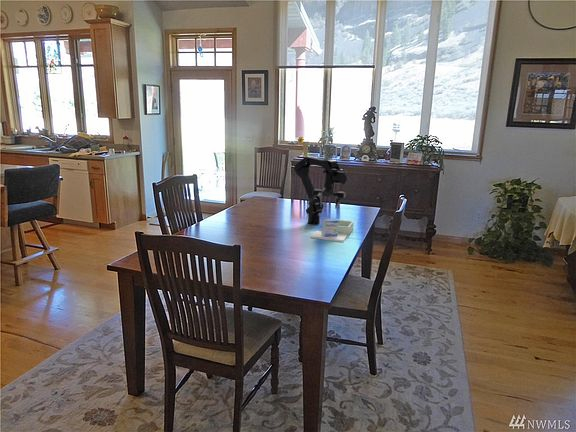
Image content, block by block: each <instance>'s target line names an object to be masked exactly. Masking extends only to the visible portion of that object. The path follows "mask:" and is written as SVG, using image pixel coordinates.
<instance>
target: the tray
mask: <svg viewBox="0 0 576 432" xmlns="http://www.w3.org/2000/svg"><path fill="white" fill-rule="evenodd" d="M348 237H349V236H348V235H347V234H339V233H338V235H337V236H328V237H324V236H323V235H322V230H316V231H314V232H313V234H311V235H310V238H311V239H317V240H326V241H331V242H338V243H339V242H342V243H344V242H345V241H346V239H347V238H348Z"/></svg>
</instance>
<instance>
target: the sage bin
mask: <svg viewBox="0 0 576 432" xmlns="http://www.w3.org/2000/svg"><path fill="white" fill-rule="evenodd" d="M335 219H336V220H338V233H339V234H347V235H348V237H349V236H350V235H351V234H352V232H353V230H354V224H355V222H354V221H353V220H344V219H337V218H335Z"/></svg>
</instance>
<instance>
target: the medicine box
mask: <svg viewBox="0 0 576 432" xmlns="http://www.w3.org/2000/svg"><path fill="white" fill-rule="evenodd" d="M336 219H337V218H328V219H322V220H321V231H322V235H323V236H324V237H328V236H337V235H338V220H339V219H337V220H336Z"/></svg>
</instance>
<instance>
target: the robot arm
mask: <svg viewBox="0 0 576 432" xmlns="http://www.w3.org/2000/svg"><path fill="white" fill-rule="evenodd" d="M312 165H314V166H319V167H321V168H322V169H323V171H322V173H323V174H325V175H324V183H323V188H322V189H321V188H314V185H313V184H312V181H311V178H310V175H309V174H310V167H311V166H312ZM293 169H294V172H295V174H296V175H297V176H298V177H299V178H300V179H301V182H302V184H303V187H304V189H305V193H306V194H307V198H308V202H307V203H308V207H307V208H306V210H305V212H306V214H307V223H306V224H309V225H318V224H320V223H321V215H320V214H322V212H323V210H324V206H325V205H324V202H323V199H322V198H323V197H329V198H330V197H331V196H335V197H336V198H335V206H334V208H335V209H336V210H337V207H338V206H339V204H340V201H341V200H342V199H345V198H346V197H347V192H345V191H341V190H340V191H338V192H335V185H336V184H339V185H346V183H347V181H348V179H347V176H346V174H345V172H344V171H342V170H341V168H340V166H339V164H338V161H337V160H336V159H323V158H319V157H315V156H311V155H309V156H304V157H303V158H302V159H301V160H300V161H298V162H297V163H296V164H294V168H293Z"/></svg>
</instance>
